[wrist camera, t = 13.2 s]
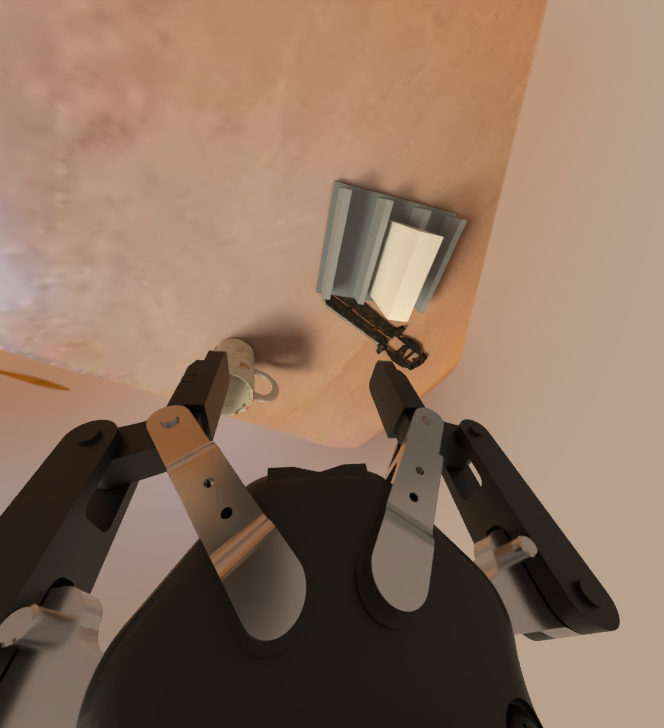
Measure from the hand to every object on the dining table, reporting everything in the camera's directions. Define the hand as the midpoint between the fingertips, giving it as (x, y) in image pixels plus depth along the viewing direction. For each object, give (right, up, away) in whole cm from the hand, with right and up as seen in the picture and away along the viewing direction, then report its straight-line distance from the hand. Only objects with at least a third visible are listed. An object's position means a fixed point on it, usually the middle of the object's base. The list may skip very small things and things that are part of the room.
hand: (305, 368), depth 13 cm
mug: (-13, +1, +28) cm, 31 cm away
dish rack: (+8, +16, +20) cm, 27 cm away
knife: (+9, +6, +28) cm, 30 cm away
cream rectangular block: (+9, +15, +20) cm, 26 cm away
